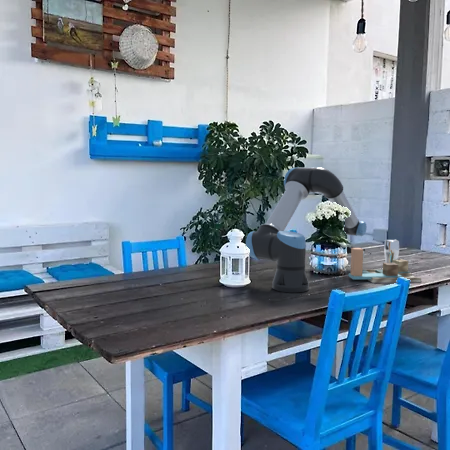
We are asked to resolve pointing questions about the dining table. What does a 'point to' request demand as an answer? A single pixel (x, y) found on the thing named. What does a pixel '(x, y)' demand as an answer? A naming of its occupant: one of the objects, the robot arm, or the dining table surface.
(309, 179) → the robot arm
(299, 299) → the dining table surface
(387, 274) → the walnut block
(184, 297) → the dining table surface
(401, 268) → the oak block
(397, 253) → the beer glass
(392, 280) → the lane board
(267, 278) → the dining table surface
